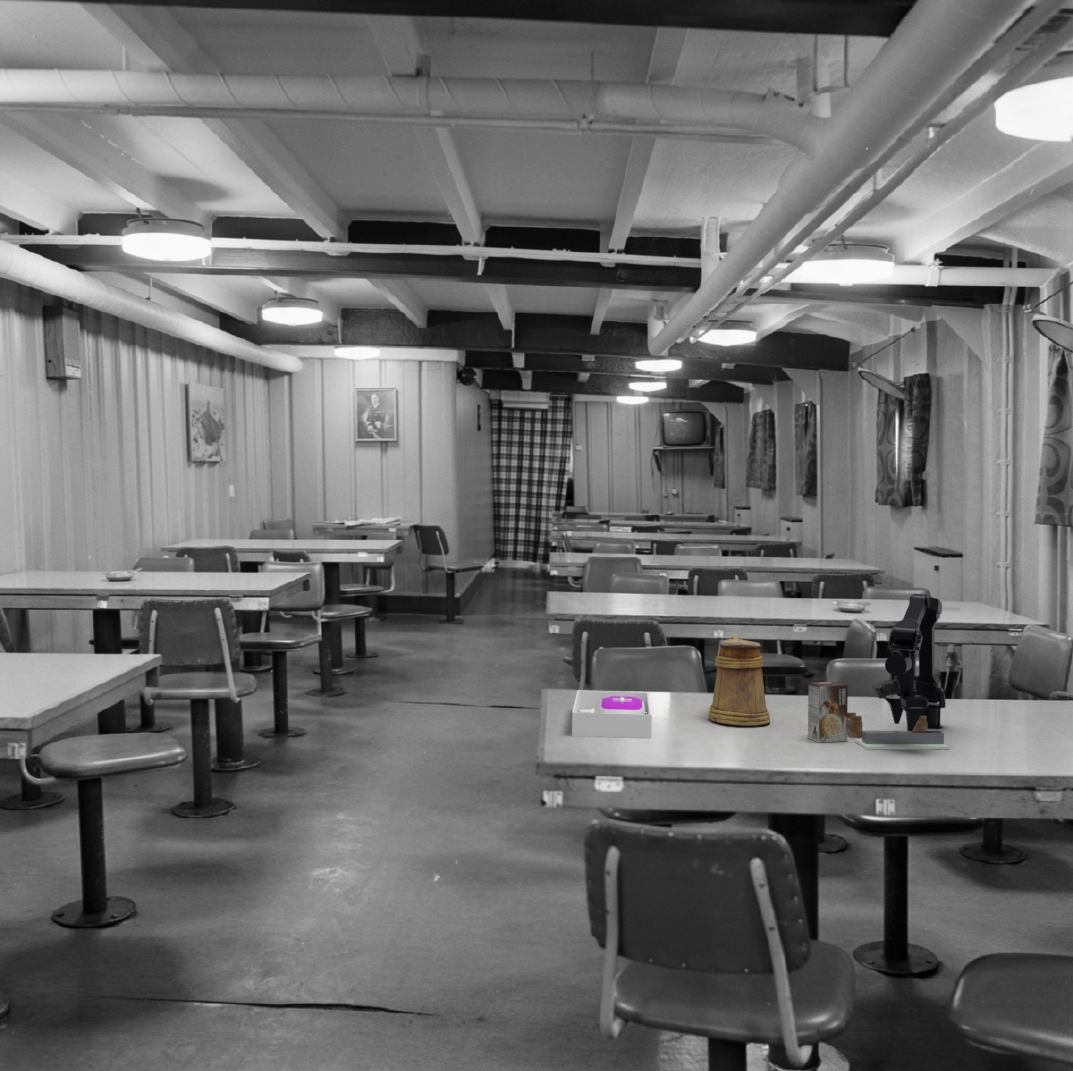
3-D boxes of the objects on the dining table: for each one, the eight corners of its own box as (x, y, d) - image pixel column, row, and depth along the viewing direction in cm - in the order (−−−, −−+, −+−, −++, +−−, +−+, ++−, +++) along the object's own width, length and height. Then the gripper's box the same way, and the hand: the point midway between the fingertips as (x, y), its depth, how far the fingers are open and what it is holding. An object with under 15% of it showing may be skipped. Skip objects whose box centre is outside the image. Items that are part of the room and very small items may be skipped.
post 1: (853, 732, 306) (853, 711, 306) (862, 737, 299) (862, 716, 299) (843, 732, 306) (843, 711, 305) (851, 737, 299) (852, 716, 298)
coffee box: (835, 736, 300) (836, 680, 299) (847, 741, 294) (849, 684, 293) (806, 738, 298) (808, 682, 297) (818, 743, 291) (819, 685, 291)
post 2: (916, 732, 307) (917, 712, 307) (927, 737, 300) (927, 717, 300) (906, 732, 307) (907, 712, 306) (916, 737, 300) (917, 717, 299)
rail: (939, 741, 292) (939, 730, 292) (943, 743, 289) (944, 733, 289) (861, 741, 291) (862, 730, 291) (865, 743, 288) (866, 733, 288)
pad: (934, 741, 295) (934, 739, 295) (948, 749, 286) (949, 746, 286) (854, 741, 294) (854, 738, 294) (866, 749, 285) (866, 746, 285)
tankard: (716, 727, 309) (718, 643, 309) (700, 711, 333) (702, 633, 332) (776, 728, 310) (778, 644, 309) (756, 712, 334) (758, 634, 333)
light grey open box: (571, 737, 296) (572, 711, 296) (577, 712, 331) (577, 689, 331) (651, 739, 295) (651, 714, 294) (648, 714, 329) (648, 691, 329)
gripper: (863, 665, 298) (862, 720, 298) (889, 676, 279) (887, 734, 280) (901, 666, 298) (900, 720, 299) (930, 677, 280) (928, 734, 280)
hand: (903, 727), depth 289 cm, fingers open, 9 cm apart
